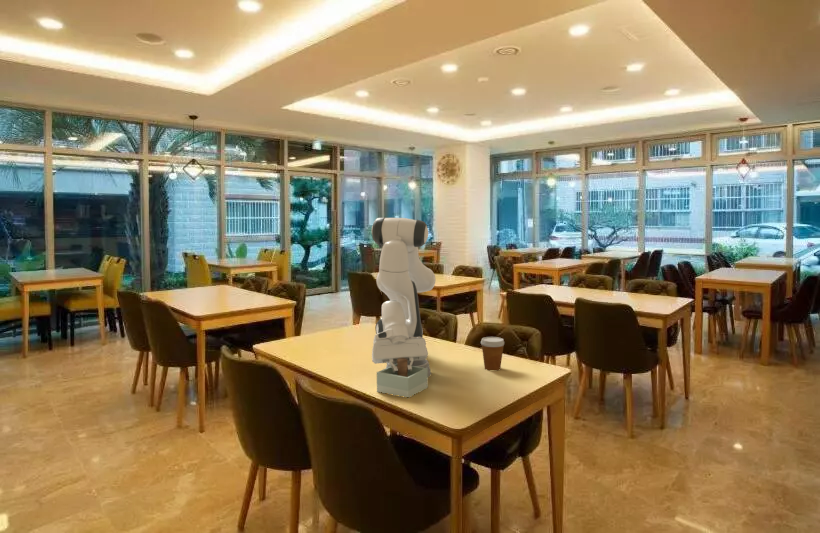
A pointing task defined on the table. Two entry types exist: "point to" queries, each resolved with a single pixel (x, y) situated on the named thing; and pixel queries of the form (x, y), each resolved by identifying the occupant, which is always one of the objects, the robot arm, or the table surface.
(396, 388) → the socket box
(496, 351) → the disposable coffee cup
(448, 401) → the table surface
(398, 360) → the peg
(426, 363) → the dog bowl
